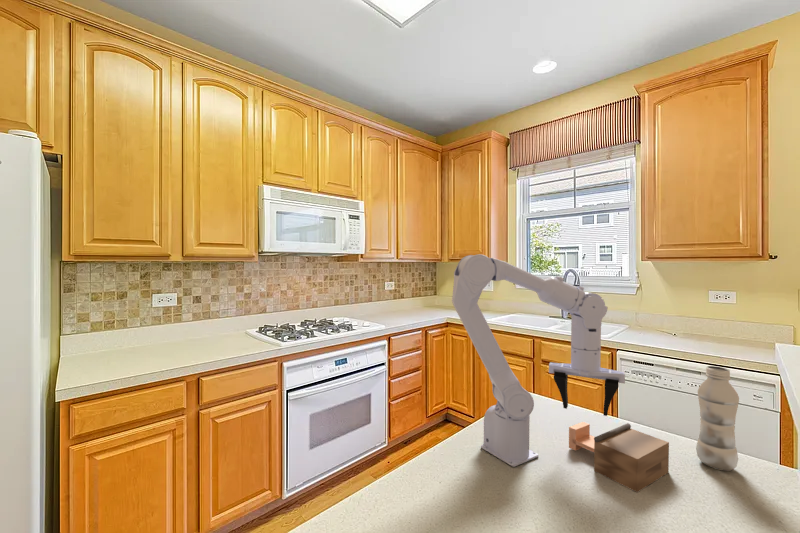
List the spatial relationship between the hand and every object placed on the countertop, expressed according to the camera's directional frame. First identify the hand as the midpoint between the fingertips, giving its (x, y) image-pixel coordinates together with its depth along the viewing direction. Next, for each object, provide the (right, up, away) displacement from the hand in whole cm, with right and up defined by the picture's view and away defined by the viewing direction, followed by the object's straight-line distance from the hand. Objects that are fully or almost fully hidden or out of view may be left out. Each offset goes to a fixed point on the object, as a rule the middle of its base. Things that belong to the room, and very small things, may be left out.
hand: (585, 410), depth 80 cm
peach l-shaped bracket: (+3, -9, -2) cm, 10 cm away
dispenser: (+6, -10, -7) cm, 13 cm away
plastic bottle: (+25, -10, -5) cm, 27 cm away
